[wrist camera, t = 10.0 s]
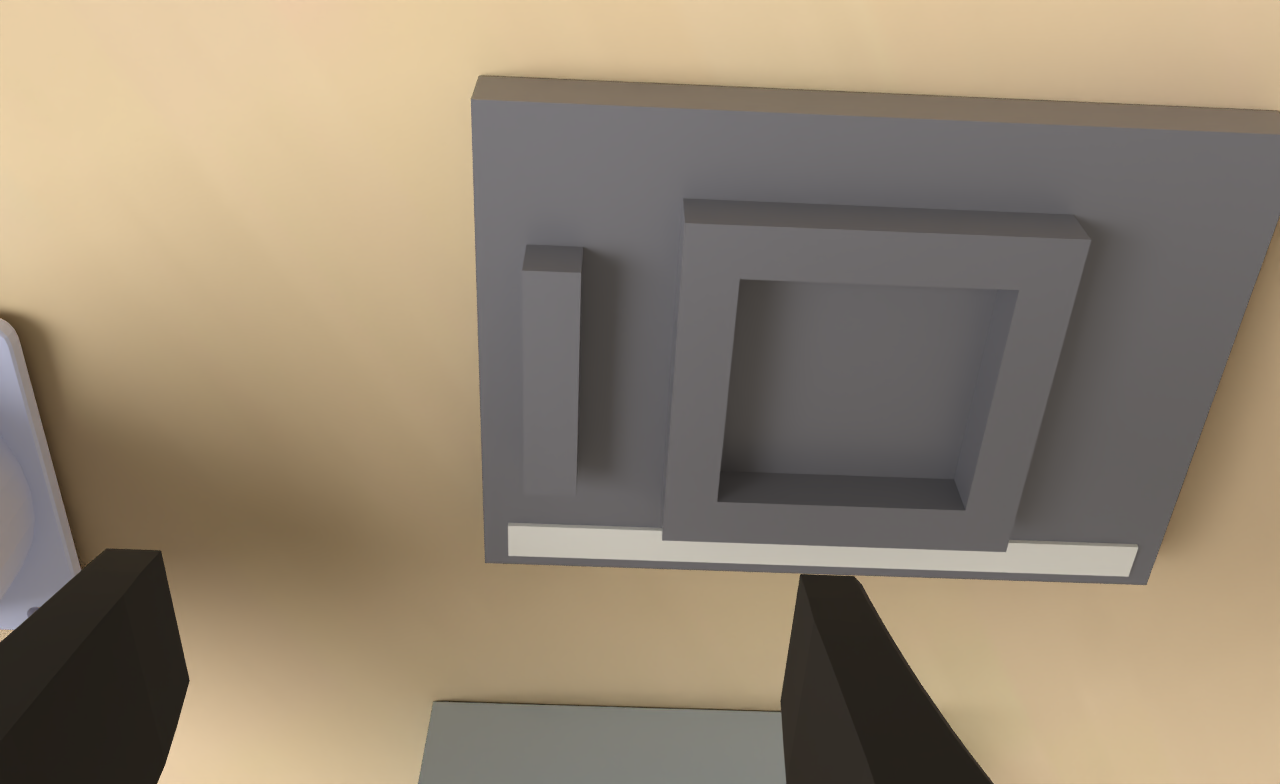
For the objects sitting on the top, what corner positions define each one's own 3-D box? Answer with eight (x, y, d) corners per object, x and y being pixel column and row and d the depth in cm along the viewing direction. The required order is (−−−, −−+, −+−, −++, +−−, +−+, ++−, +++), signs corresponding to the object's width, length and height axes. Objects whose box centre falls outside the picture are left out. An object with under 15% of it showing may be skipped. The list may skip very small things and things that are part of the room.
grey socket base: (491, 526, 26) (479, 595, 25) (478, 75, 21) (463, 121, 19) (1127, 547, 27) (1163, 618, 25) (1276, 111, 21) (1337, 158, 20)
